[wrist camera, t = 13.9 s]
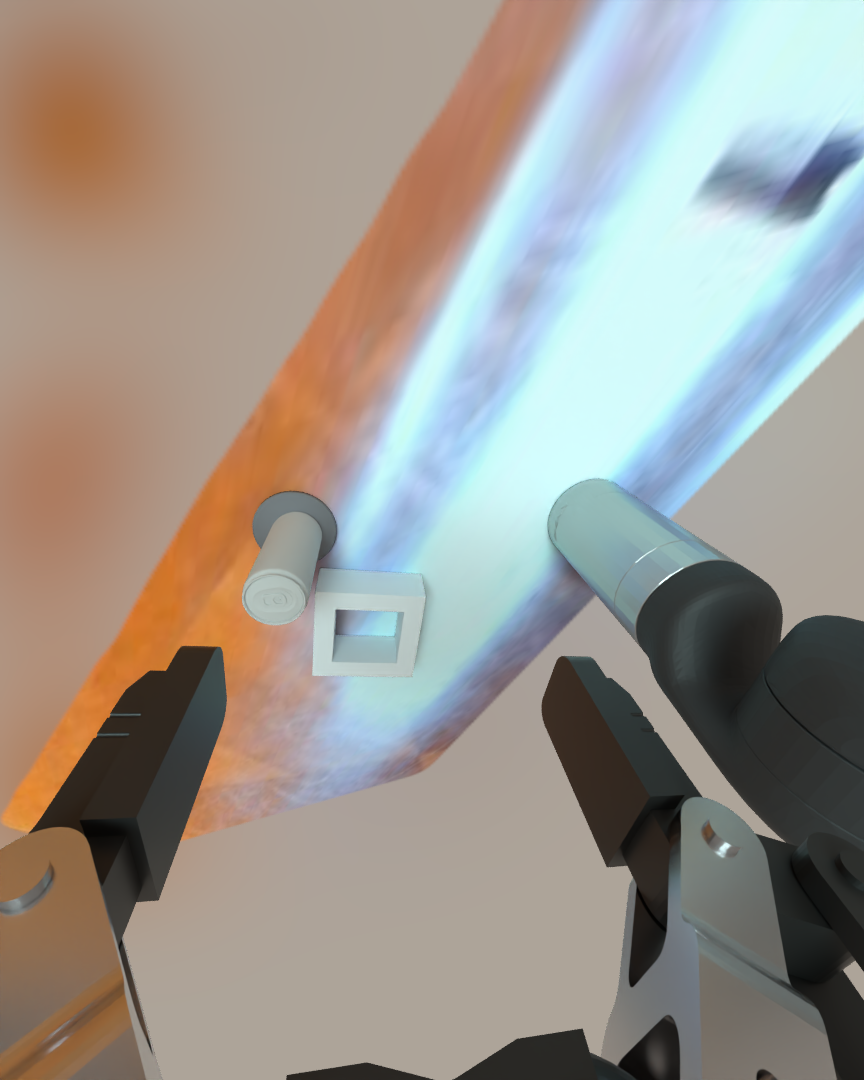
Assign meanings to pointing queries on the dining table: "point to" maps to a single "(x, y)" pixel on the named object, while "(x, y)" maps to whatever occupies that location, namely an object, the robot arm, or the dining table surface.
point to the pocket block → (369, 595)
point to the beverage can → (283, 570)
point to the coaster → (295, 503)
